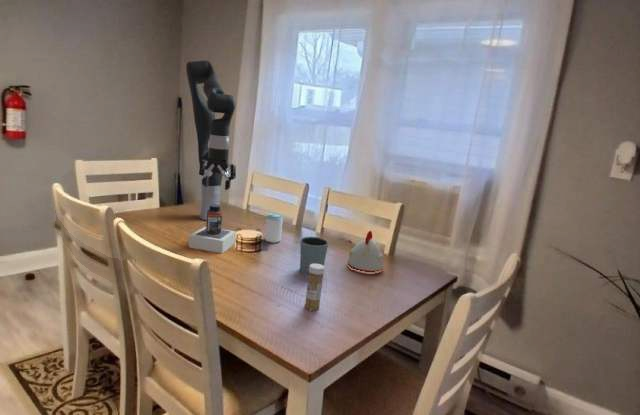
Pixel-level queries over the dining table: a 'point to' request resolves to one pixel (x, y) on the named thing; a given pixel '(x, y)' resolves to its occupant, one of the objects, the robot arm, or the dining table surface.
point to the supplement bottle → (214, 219)
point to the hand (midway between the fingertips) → (216, 188)
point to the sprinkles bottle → (314, 286)
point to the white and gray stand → (212, 240)
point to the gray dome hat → (366, 256)
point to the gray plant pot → (312, 252)
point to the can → (273, 227)
